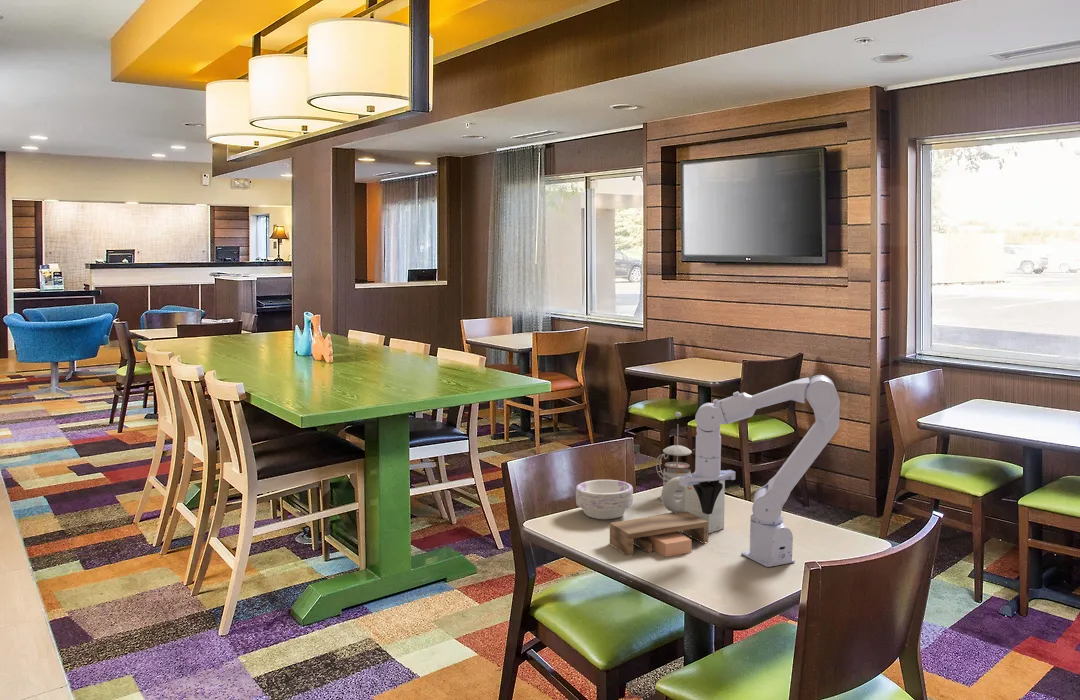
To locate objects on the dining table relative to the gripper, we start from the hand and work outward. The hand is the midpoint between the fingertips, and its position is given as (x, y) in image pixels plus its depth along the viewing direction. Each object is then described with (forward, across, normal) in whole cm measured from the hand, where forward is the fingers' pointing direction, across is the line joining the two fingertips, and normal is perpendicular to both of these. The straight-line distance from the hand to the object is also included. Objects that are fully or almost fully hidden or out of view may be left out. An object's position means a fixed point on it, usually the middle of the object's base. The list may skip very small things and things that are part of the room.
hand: (707, 513), depth 198 cm
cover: (+9, +7, -6) cm, 13 cm away
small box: (+10, -11, -15) cm, 21 cm away
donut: (+10, -12, -28) cm, 32 cm away
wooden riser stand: (+9, +6, -10) cm, 15 cm away
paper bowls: (+10, +7, -36) cm, 37 cm away
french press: (+10, -19, -41) cm, 46 cm away
